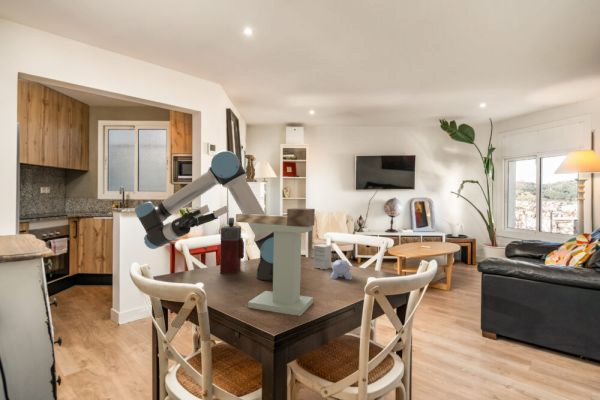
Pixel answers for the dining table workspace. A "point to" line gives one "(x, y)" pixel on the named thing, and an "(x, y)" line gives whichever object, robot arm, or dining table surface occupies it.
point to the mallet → (282, 218)
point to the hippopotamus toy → (341, 269)
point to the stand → (284, 272)
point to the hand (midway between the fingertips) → (218, 208)
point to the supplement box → (322, 256)
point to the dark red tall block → (231, 248)
